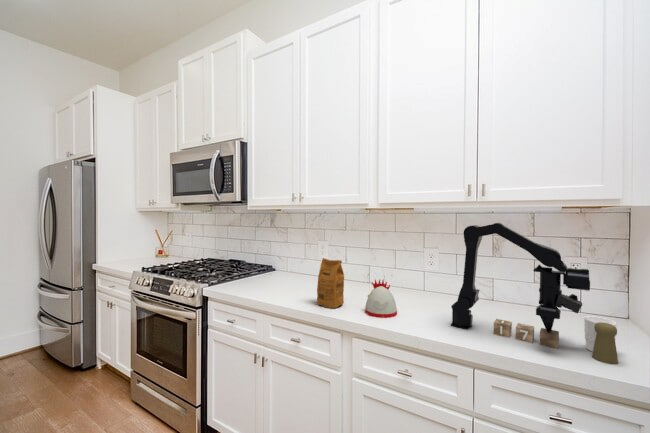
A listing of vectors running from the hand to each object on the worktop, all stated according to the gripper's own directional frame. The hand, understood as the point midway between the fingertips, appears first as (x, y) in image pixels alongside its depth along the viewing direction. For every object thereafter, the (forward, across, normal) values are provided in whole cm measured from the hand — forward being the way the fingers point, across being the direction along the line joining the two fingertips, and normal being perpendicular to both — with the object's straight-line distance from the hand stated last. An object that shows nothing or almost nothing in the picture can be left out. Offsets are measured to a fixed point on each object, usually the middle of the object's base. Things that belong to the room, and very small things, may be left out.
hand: (549, 331), depth 105 cm
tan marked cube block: (+4, 0, +7) cm, 8 cm away
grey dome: (+5, -8, +60) cm, 61 cm away
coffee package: (+4, -14, +84) cm, 85 cm away
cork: (+5, -2, -14) cm, 15 cm away
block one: (+4, 0, +14) cm, 15 cm away
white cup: (+5, +5, -13) cm, 15 cm away
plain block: (+4, 0, 0) cm, 5 cm away
